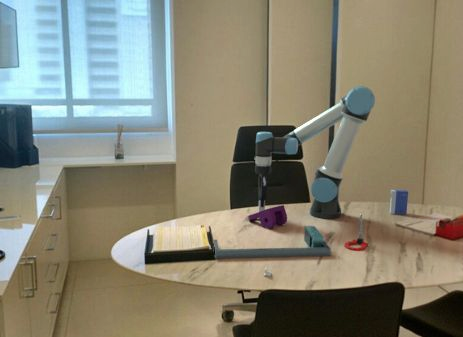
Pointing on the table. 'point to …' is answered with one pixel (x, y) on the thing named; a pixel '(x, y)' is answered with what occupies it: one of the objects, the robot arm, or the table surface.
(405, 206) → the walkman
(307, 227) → the rail
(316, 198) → the robot arm
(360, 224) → the red ring with rod
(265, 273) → the power adapter
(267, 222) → the mounting bracket
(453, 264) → the table surface
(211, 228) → the table surface
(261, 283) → the table surface
